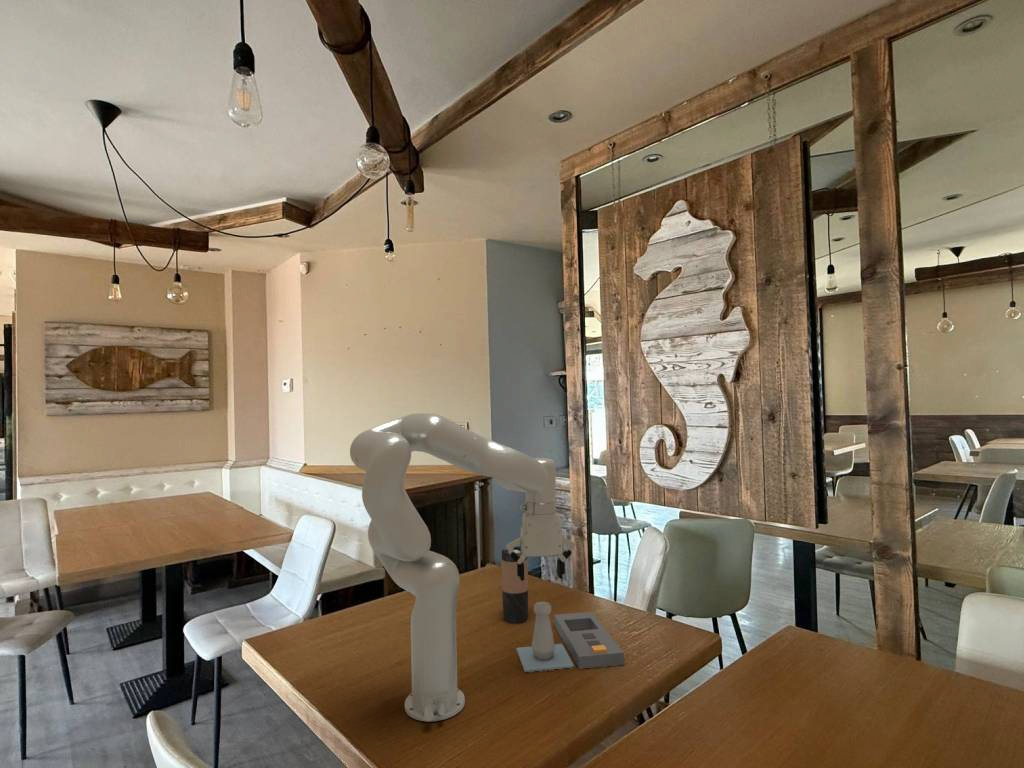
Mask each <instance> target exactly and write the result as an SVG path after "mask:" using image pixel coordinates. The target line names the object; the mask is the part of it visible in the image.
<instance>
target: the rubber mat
mask: <svg viewBox="0 0 1024 768" xmlns="http://www.w3.org/2000/svg"><path fill="white" fill-rule="evenodd" d="M515 649H516V653H517V655H518V658H520V659H519V661H520V664H521V667H522V666H523V667H522V668H523V669H524V670H523V669H522V670H523V672H524V673H525V672H529V673H535V672H534V671H539V672H547V670H549V671H555V670H554V669H559V670H564V669H563V668H570V669H572V668H571V667H574V668H575V664H574V662H573V661H572V659H571V657H570V656H569V653H568V652H567V650H566V648H565V646H564V645H563V643H555V650H554V653H553V656H552V658H550V659H548V660H539V659H537V658H536V657H535V655H534V653H533V650H532V645H531V646H522V647H516V648H515ZM543 670H545V671H543Z"/></svg>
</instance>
